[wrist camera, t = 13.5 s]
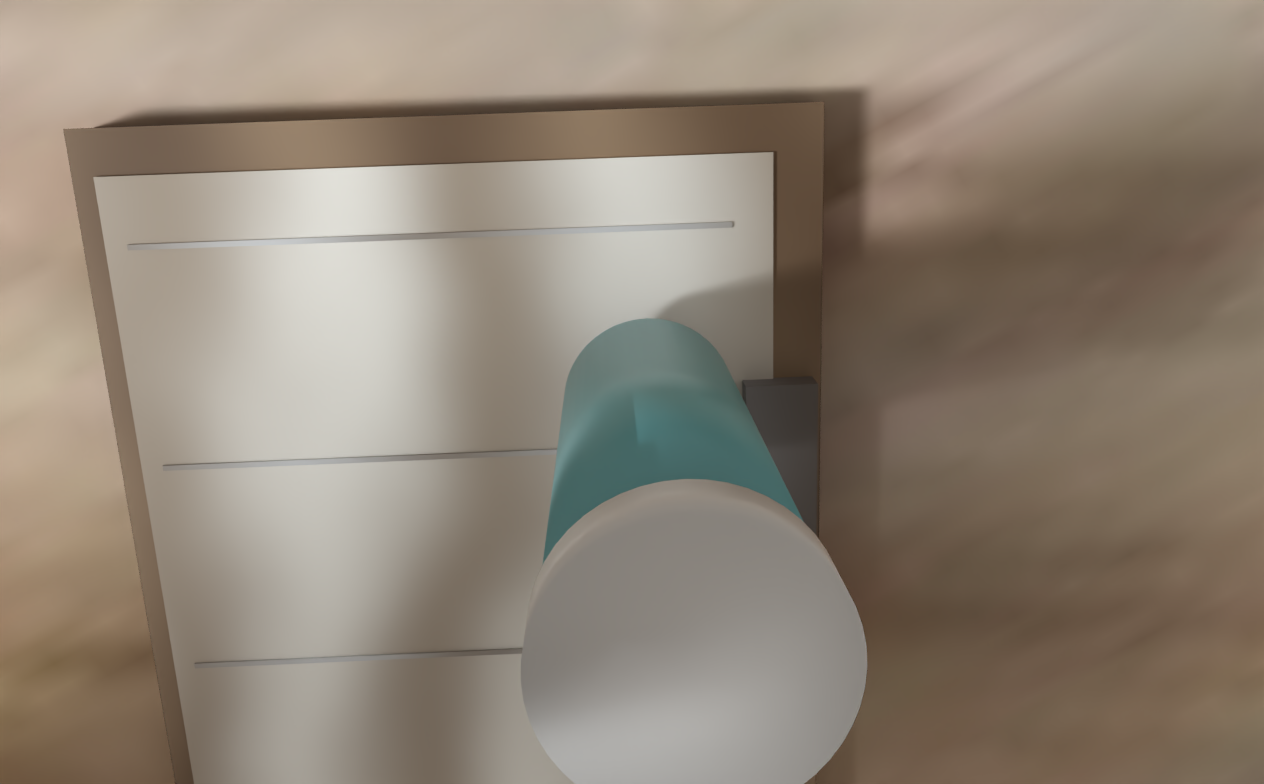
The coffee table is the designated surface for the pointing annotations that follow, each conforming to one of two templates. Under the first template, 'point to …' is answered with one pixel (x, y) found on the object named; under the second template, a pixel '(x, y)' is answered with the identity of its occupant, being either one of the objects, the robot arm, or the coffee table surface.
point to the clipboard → (409, 396)
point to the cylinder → (681, 584)
